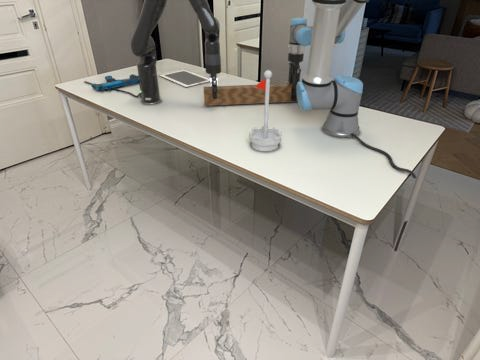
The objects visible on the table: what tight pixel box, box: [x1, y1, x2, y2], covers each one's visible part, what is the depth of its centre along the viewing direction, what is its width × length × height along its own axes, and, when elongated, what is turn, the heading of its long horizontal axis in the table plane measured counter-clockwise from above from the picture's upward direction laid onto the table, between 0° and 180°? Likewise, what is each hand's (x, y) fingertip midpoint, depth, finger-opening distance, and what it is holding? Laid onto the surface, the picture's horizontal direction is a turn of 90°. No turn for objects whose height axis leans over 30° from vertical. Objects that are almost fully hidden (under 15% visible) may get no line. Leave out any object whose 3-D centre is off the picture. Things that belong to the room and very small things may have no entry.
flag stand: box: [248, 69, 283, 152], centre depth 130 cm, size 13×13×30 cm
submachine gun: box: [90, 73, 140, 92], centre depth 207 cm, size 34×4×25 cm
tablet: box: [158, 69, 210, 88], centre depth 216 cm, size 32×20×1 cm, turn 41°
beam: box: [203, 82, 298, 107], centre depth 175 cm, size 51×5×8 cm, turn 97°
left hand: (214, 96), depth 173 cm, fingers closed on beam, 4 cm apart
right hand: (292, 98), depth 179 cm, fingers closed on beam, 5 cm apart
